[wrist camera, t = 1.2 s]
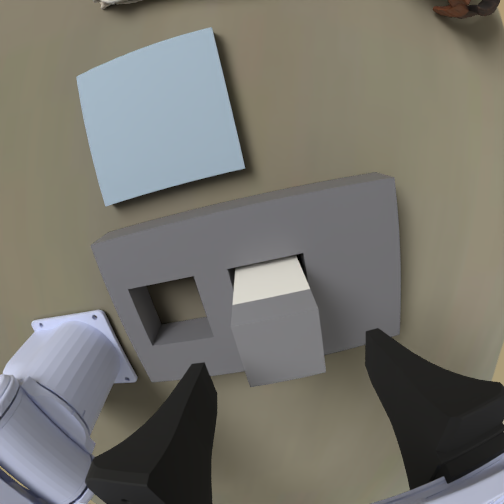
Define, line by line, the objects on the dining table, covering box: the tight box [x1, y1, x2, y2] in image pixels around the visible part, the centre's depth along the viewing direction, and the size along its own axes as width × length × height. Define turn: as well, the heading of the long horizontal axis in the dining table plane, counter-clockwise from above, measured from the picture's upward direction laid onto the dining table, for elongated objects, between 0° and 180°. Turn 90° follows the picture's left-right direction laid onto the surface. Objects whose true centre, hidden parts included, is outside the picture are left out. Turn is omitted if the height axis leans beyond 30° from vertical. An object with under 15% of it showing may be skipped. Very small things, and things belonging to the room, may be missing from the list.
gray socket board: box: [91, 172, 401, 382], centre depth 21 cm, size 20×12×3 cm, turn 102°
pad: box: [77, 27, 245, 206], centre depth 18 cm, size 10×10×1 cm
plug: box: [231, 255, 326, 387], centre depth 18 cm, size 4×4×9 cm
